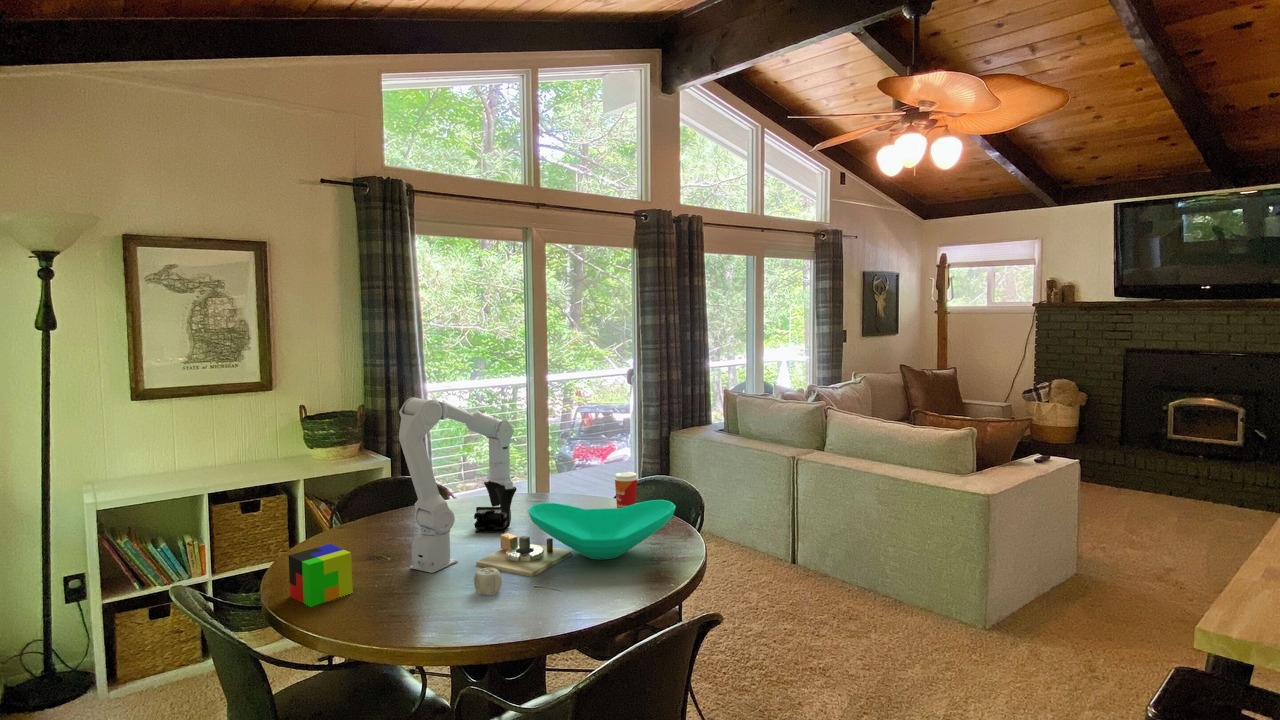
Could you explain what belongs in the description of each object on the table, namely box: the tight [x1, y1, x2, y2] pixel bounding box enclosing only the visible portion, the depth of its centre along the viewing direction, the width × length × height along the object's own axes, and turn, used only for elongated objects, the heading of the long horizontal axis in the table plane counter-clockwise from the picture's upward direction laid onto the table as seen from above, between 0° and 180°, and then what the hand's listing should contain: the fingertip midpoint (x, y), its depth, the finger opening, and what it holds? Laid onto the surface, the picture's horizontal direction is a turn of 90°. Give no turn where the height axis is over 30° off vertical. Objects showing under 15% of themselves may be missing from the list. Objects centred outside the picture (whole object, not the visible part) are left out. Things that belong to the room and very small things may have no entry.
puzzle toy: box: [288, 543, 354, 608], centre depth 166 cm, size 10×10×10 cm
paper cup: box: [613, 471, 639, 508], centre depth 224 cm, size 8×8×14 cm
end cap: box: [473, 506, 512, 534], centre depth 214 cm, size 10×7×7 cm
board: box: [475, 535, 573, 578], centre depth 188 cm, size 18×18×6 cm
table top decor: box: [527, 499, 677, 560], centre depth 190 cm, size 40×28×13 cm
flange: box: [499, 532, 544, 562], centre depth 189 cm, size 14×10×4 cm
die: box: [473, 567, 503, 597], centre depth 167 cm, size 5×5×5 cm
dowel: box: [546, 537, 554, 553], centre depth 191 cm, size 2×2×4 cm
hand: (500, 508), depth 200 cm, fingers open, 7 cm apart
